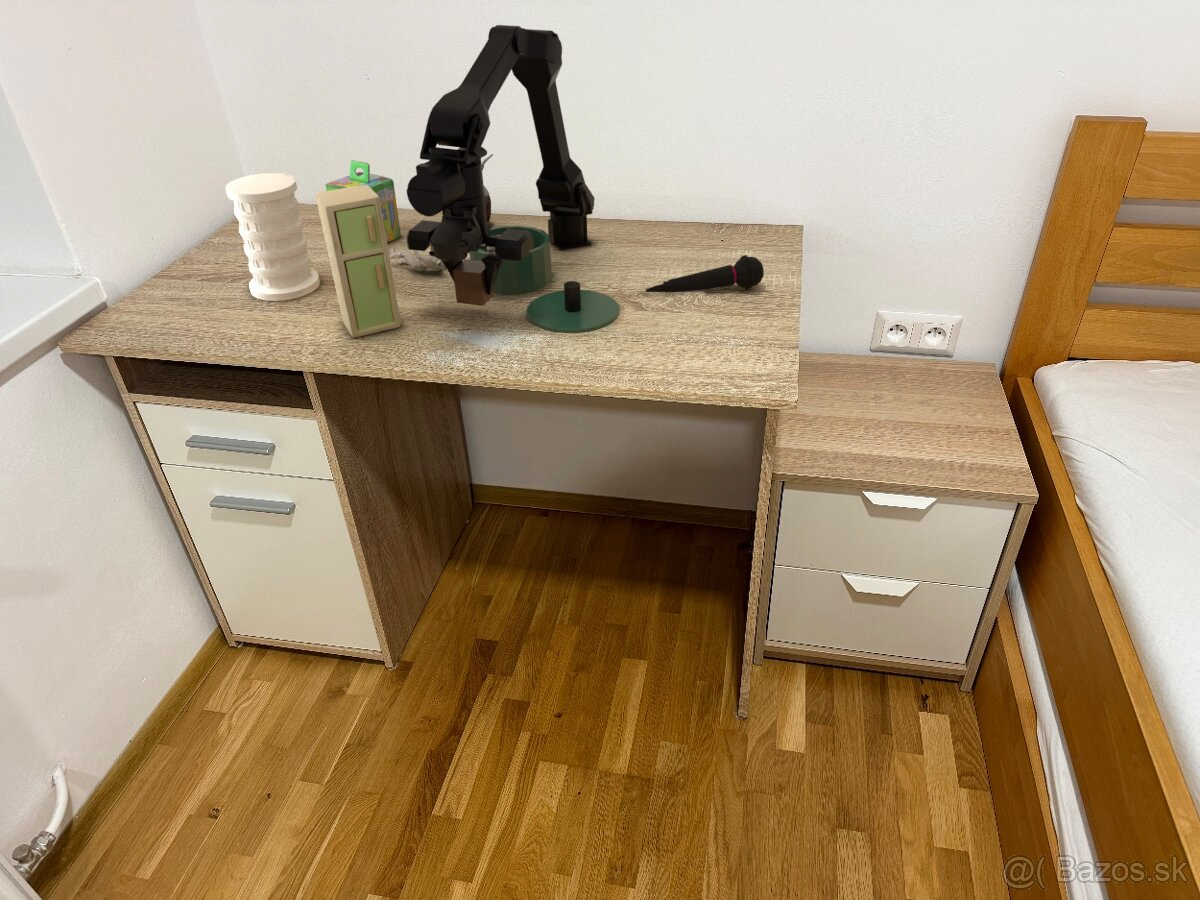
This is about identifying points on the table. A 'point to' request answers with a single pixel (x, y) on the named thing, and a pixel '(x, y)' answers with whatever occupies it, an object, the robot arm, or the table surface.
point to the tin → (522, 264)
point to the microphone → (717, 277)
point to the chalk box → (381, 188)
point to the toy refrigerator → (359, 259)
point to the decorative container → (273, 236)
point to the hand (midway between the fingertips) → (475, 292)
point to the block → (471, 283)
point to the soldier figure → (418, 260)
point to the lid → (572, 310)
